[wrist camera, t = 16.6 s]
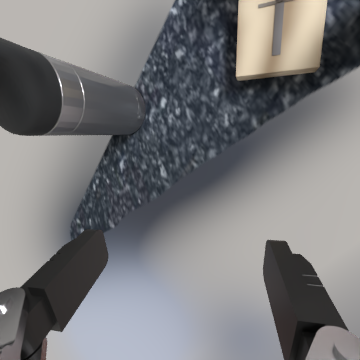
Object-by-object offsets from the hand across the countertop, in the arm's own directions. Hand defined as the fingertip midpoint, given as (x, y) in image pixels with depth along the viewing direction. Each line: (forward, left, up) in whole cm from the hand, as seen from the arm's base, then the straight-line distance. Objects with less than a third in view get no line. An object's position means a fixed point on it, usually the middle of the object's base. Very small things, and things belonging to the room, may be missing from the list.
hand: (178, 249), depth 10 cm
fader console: (+4, +23, -26) cm, 35 cm away
